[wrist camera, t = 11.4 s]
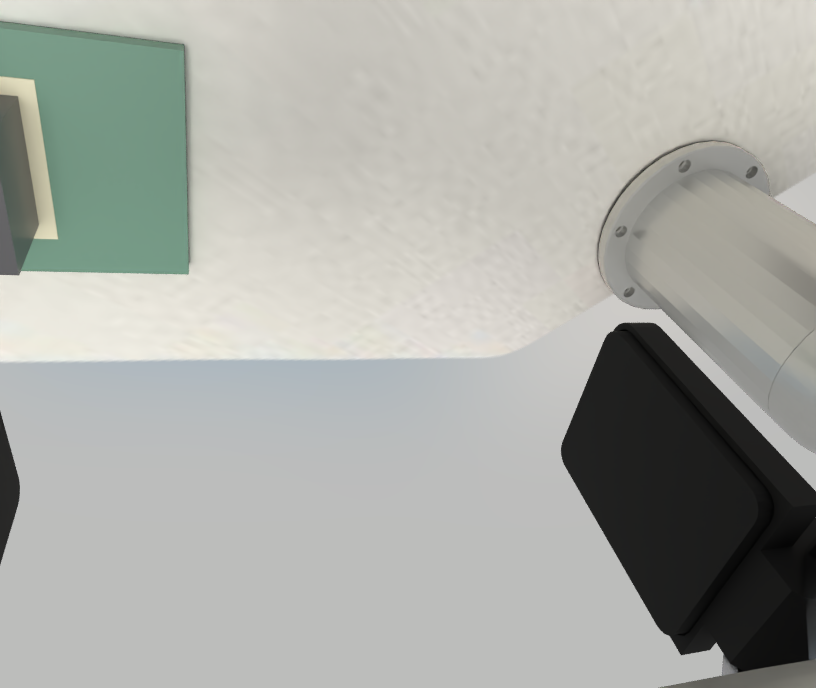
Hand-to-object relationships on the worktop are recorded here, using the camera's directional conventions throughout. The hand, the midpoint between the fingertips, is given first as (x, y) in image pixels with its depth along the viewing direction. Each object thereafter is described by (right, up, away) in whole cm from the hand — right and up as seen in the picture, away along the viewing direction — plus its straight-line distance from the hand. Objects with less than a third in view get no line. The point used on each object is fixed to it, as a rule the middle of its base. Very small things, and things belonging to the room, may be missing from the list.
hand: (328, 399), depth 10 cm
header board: (-20, +10, +21) cm, 31 cm away
